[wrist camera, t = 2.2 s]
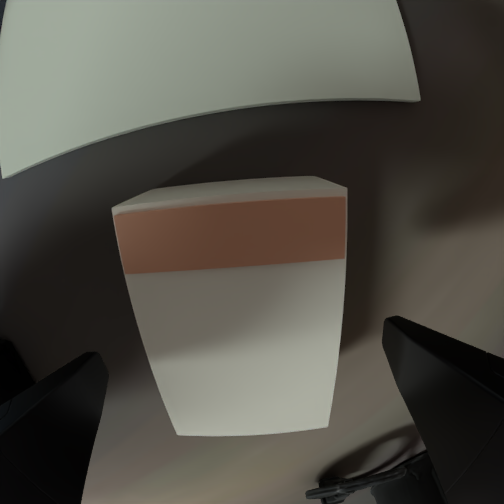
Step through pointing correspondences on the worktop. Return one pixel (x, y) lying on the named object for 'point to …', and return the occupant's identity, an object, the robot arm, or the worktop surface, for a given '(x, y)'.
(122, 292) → the worktop surface
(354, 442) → the worktop surface
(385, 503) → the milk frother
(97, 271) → the worktop surface
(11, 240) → the worktop surface
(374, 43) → the mat
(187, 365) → the card box
